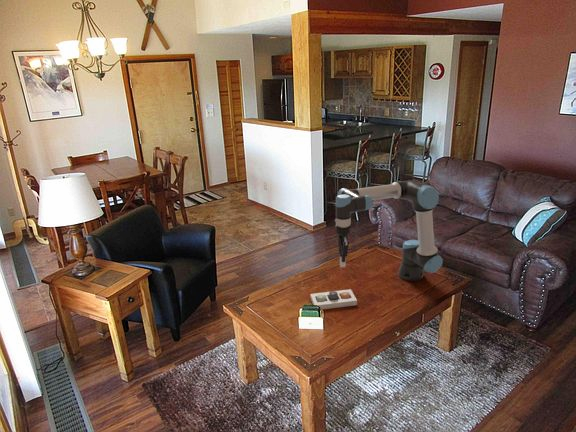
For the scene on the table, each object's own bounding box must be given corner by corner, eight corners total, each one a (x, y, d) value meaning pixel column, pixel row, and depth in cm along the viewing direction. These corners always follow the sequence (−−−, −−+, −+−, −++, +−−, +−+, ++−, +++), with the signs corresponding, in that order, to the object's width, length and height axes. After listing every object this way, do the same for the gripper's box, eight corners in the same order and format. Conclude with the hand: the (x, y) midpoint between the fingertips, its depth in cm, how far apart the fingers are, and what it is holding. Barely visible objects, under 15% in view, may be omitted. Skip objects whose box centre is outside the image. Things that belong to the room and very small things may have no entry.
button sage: (324, 298, 229) (324, 294, 228) (326, 303, 225) (326, 298, 224) (316, 299, 229) (316, 295, 228) (318, 304, 224) (318, 299, 223)
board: (350, 293, 235) (350, 289, 234) (357, 305, 224) (357, 300, 223) (310, 298, 232) (310, 294, 231) (314, 310, 221) (314, 305, 220)
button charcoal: (336, 295, 230) (336, 290, 229) (338, 299, 225) (338, 295, 224) (328, 296, 229) (328, 291, 228) (330, 300, 225) (330, 296, 223)
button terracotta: (348, 295, 231) (348, 291, 230) (350, 300, 227) (350, 295, 225) (340, 296, 230) (340, 292, 229) (342, 301, 226) (342, 296, 225)
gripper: (332, 221, 209) (332, 261, 217) (339, 230, 197) (339, 273, 205) (346, 219, 210) (346, 260, 218) (354, 229, 198) (353, 271, 206)
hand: (342, 266), depth 212 cm, fingers closed
